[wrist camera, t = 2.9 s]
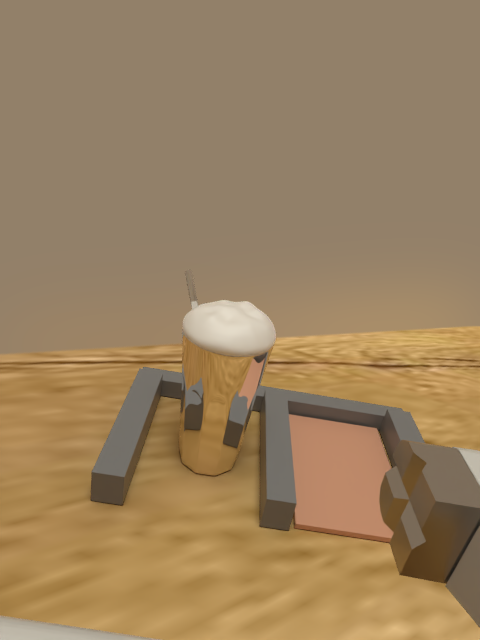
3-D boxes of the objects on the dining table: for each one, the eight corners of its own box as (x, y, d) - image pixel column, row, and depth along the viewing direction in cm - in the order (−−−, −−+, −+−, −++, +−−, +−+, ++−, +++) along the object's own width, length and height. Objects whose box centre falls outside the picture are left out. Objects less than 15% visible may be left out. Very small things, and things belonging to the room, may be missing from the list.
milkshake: (194, 411, 29) (217, 262, 24) (263, 456, 26) (301, 298, 22) (139, 445, 25) (154, 278, 21) (212, 500, 23) (245, 322, 18)
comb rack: (396, 422, 31) (404, 401, 30) (452, 555, 22) (466, 529, 21) (142, 381, 31) (144, 359, 30) (90, 500, 21) (91, 471, 21)
